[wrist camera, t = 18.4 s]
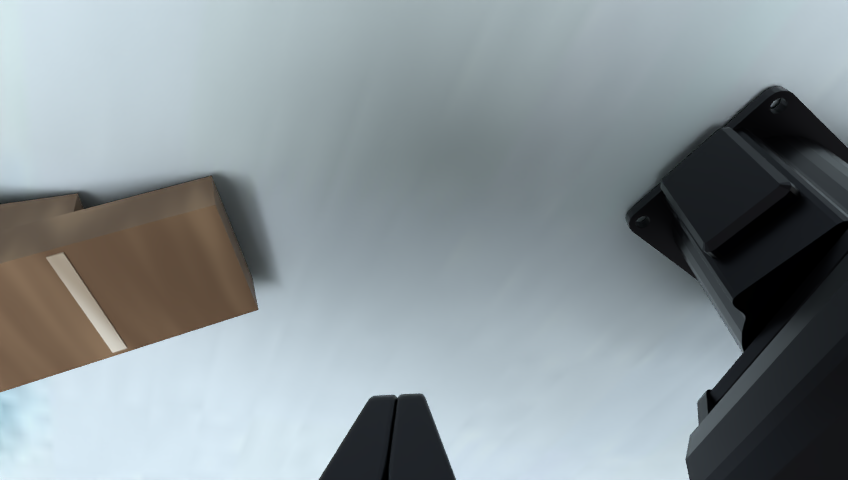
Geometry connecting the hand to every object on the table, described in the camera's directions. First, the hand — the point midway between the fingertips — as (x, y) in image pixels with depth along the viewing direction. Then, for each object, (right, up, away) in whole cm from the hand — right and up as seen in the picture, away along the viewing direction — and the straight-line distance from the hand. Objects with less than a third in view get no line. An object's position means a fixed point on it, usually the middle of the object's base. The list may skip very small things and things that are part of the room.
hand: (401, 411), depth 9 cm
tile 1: (-7, +2, +12) cm, 14 cm away
